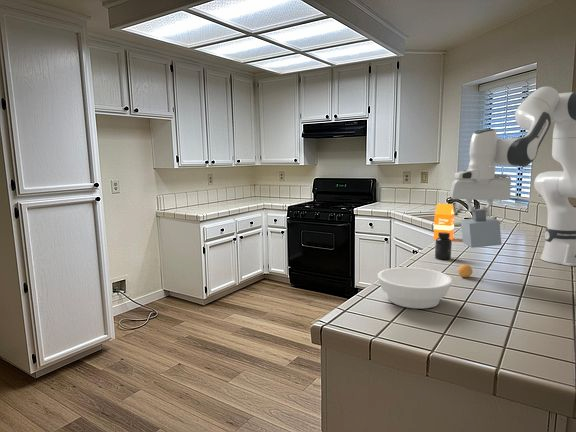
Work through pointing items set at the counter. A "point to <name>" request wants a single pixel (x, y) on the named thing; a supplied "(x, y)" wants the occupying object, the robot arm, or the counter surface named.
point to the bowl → (414, 286)
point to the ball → (465, 270)
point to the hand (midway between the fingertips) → (478, 211)
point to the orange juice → (444, 220)
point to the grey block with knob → (481, 230)
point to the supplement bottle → (443, 246)
